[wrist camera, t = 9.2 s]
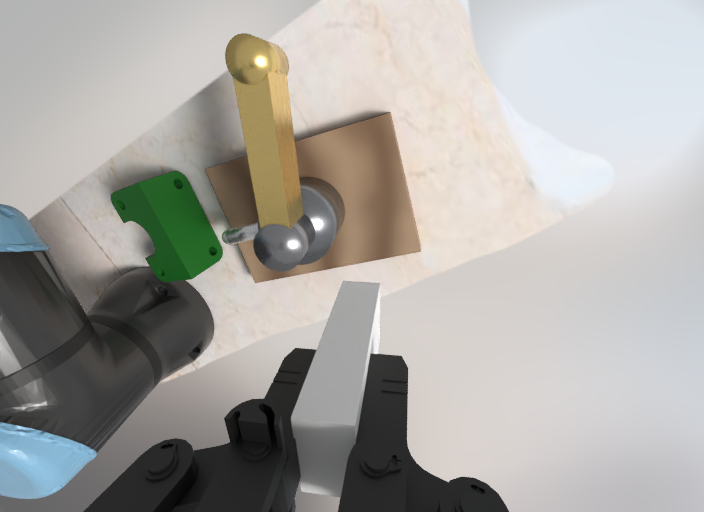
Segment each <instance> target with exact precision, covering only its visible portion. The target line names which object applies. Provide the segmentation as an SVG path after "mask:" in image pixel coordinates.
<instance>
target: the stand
mask: <svg viewBox="0 0 704 512" xmlns="http://www.w3.org/2000/svg"><path fill="white" fill-rule="evenodd" d="M295 148H296V156H297V164H298V172H299V179H300V178H305V177H315V178H319V179H322V180H324V181H326V182H328V183H330V184H331V185H332V186H333V187H334V188H335V189H336V190H337V191H338V192H339V194H340V195H341V197H342V199H343V202H344V206H345V218H344V222H343V224H342V227H341V228H340V230H339V232H338V234H337V235H336V237H335V239H334V241H333V242H332V244H331V246H330V248H329V249H328V251H327V252H326V254H325V255H324V256H323V257H322V258H320V259H319V260H317V261H316V262H313V263H310V264H306V265H297V266H296V267H295V268H293V269H291V270H289V271H285V272H278V271H274V270H271V269H269V268H267V267H266V266H264V265H263V264H262V263H261V262H260V261H259V259H258V258H257V256H256V254H255V252H254V247H253V242H254V240H249V241H245V242H240V243H238V245H239V248H240V250H241V252H242V254H243V257H244V259H245V261H246V263H247V266H248V268H249V270H250V273H251V275H252V277H253V279H254V282H255V283H258V282H264V281H269V280H274V279H279V278H284V277H290V276H295V275H300V274H305V273H311V272H316V271H321V270H326V269H332V268H337V267H342V266H347V265H353V264H358V263H363V262H368V261H374V260H379V259H384V258H389V257H395V256H400V255H405V254H410V253H416V252H421V248H420V240H419V236H418V231H417V227H416V223H415V218H414V214H413V209H412V205H411V200H410V196H409V192H408V187H407V183H406V178H405V174H404V169H403V165H402V161H401V156H400V152H399V147H398V143H397V138H396V134H395V130H394V125H393V121H392V116H391V112H390V113H387V114H383V115H380V116H377V117H374V118H370V119H367V120H364V121H361V122H357V123H354V124H351V125H347V126H344V127H341V128H338V129H334V130H331V131H328V132H324V133H321V134H318V135H315V136H311V137H308V138H305V139H301V140H298V141H295ZM205 170H206V173H207V175H208V177H209V179H210V182H211V184H212V186H213V189H214V191H215V193H216V195H217V198H218V200H219V202H220V204H221V207H222V209H223V211H224V214H225V216H226V218H227V220H228V223H229V225H230V227H231V229H232V228H236V227H240V226H244V225H248V224H253V223H257V222H258V211H257V206H256V200H255V195H254V189H253V184H252V178H251V173H250V167H249V162H248V156H246V157H242V158H239V159H236V160H233V161H229V162H226V163H223V164H219V165H216V166H213V167H210V168H207V169H205Z"/></svg>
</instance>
